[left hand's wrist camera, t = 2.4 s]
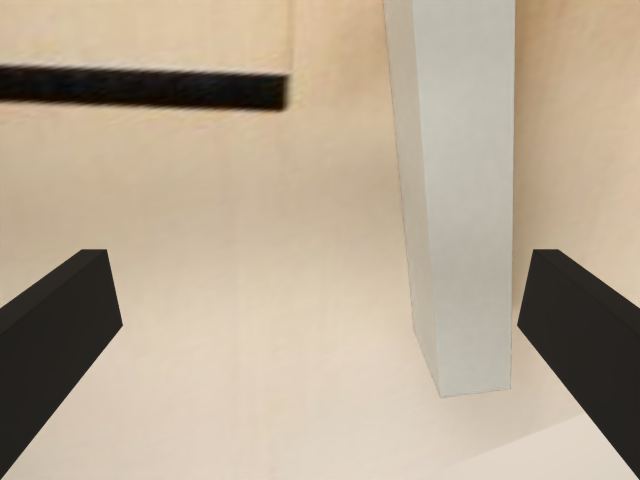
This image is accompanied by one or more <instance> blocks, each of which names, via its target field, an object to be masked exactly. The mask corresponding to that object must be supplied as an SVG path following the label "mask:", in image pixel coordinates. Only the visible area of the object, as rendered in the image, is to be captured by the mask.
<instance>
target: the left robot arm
mask: <svg viewBox="0 0 640 480" xmlns="http://www.w3.org/2000/svg"><path fill="white" fill-rule="evenodd" d="M122 326H123V324H122V319H121V314H120V310H119V305H118V300H117V295H116V291H115V286H114V281H113V277H112V272H111V267H110V263H109V258H108V253H107V249H82V250H80V251H79V252H78V253H76V254H75V255H73V256H72V257H71V258H69V259H68V260H67V261H65V262H64V263H62V264H61V265H60V266H58V267H57V268H55V269H54V270H53V271H51V272H50V273H49V274H47V275H46V276H44V277H43V278H42V279H40V280H39V281H38V282H36V283H35V284H33V285H32V286H31V287H29V288H28V289H26V290H25V291H24V292H22V293H21V294H20V295H18V296H17V297H15V298H14V299H13V300H11V301H10V302H8V303H7V304H6V305H4V306H3V307H2V308H0V480H1V479H2V477H3V476H4V475H5V474H6V472H7V471H8V470H9V469H10V467H11V466H12V465H13V464H14V462H15V461H16V460H17V458H18V457H19V456H20V455H21V453H22V452H23V451H24V450H25V448H26V447H27V446H28V445H29V443H30V442H31V441H32V440H33V438H34V437H35V436H36V435H37V433H38V432H39V431H40V429H41V428H42V427H43V426H44V424H45V423H46V422H47V421H48V419H49V418H50V417H51V416H52V414H53V413H54V412H55V411H56V409H57V408H58V407H59V406H60V404H61V403H62V402H63V400H64V399H65V398H66V397H67V395H68V394H69V393H70V392H71V390H72V389H73V388H74V387H75V385H76V384H77V383H78V382H79V380H80V379H81V378H82V377H83V375H84V374H85V373H86V371H87V370H88V369H89V368H90V366H91V365H92V364H93V363H94V361H95V360H96V359H97V358H98V356H99V355H100V354H101V353H102V351H103V350H104V349H105V348H106V346H107V345H108V344H109V342H110V341H111V340H112V339H113V337H114V336H115V335H116V334H117V332H118V331H119V330H120V329H121V327H122ZM517 326H518V327H519V329H520V330H521V331H522V332H523V334H524V335H525V336H526V337H527V339H528V340H529V341H530V342H531V344H532V345H533V346H534V348H535V349H536V350H537V351H538V353H539V354H540V355H541V356H542V358H543V359H544V360H545V361H546V363H547V364H548V365H549V366H550V368H551V369H552V370H553V371H554V373H555V374H556V375H557V377H558V378H559V379H560V380H561V382H562V383H563V384H564V385H565V387H566V388H567V389H568V390H569V392H570V393H571V394H572V395H573V397H574V398H575V399H576V400H577V402H578V403H579V404H580V406H581V407H582V408H583V409H584V411H585V412H586V413H587V414H588V416H589V417H590V418H591V419H592V421H593V422H594V423H595V424H596V426H597V427H598V428H599V429H600V431H601V432H602V433H603V435H604V436H605V437H606V438H607V440H608V441H609V442H610V443H611V445H612V446H613V447H614V448H615V450H616V451H617V452H618V453H619V455H620V456H621V457H622V458H623V460H624V461H625V462H626V464H627V465H628V466H629V467H630V469H631V470H632V471H633V472H634V474H635V475H636V476H637V477H638V479H639V480H640V308H638V307H637V306H636V305H634V304H633V303H632V302H630V301H629V300H627V299H626V298H625V297H623V296H622V295H620V294H619V293H618V292H616V291H615V290H614V289H612V288H611V287H609V286H608V285H607V284H605V283H604V282H602V281H601V280H600V279H598V278H597V277H596V276H594V275H593V274H591V273H590V272H589V271H587V270H586V269H585V268H583V267H582V266H580V265H579V264H578V263H576V262H575V261H573V260H572V259H571V258H569V257H568V256H567V255H565V254H564V253H562V252H561V251H560V250H558V249H533V253H532V258H531V263H530V267H529V272H528V277H527V281H526V286H525V291H524V295H523V300H522V305H521V310H520V314H519V319H518V324H517Z"/></svg>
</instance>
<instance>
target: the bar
mask: <svg viewBox="0 0 640 480" xmlns="http://www.w3.org/2000/svg"><path fill="white" fill-rule="evenodd" d="M383 5H384V16H385V26H386V37H387V48H388V58H389V69H390V79H391V90H392V101H393V111H394V122H395V133H396V143H397V154H398V164H399V175H400V186H401V196H402V207H403V218H404V228H405V239H406V249H407V260H408V271H409V281H410V292H411V303H412V313H413V324H414V332H415V335H416V337H417V340H418V343H419V345H420V348H421V350H422V353H423V355H424V358H425V360H426V363H427V366H428V368H429V371H430V373H431V376H432V378H433V381H434V384H435V386H436V389H437V391H438V394H439V396H440V398H446V397H453V396H461V395H468V394H475V393H483V392H490V391H497V390H505V389H511V331H512V247H513V163H514V79H515V0H383Z"/></svg>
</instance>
